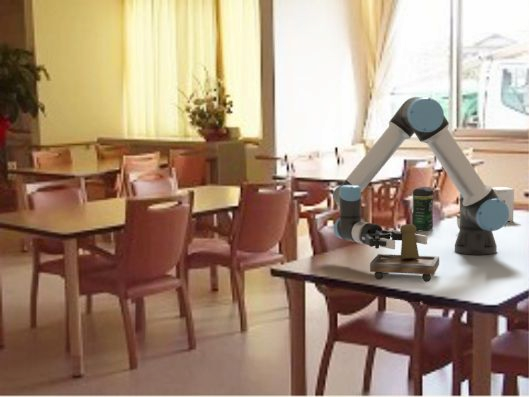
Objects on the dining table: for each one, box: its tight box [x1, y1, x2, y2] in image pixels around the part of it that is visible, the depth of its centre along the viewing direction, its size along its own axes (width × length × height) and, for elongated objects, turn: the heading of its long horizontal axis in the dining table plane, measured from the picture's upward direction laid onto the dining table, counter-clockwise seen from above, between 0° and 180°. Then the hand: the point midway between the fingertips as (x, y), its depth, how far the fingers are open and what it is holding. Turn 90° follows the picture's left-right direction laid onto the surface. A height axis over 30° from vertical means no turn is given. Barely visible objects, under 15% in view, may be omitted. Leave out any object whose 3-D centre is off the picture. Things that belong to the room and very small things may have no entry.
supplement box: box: [491, 186, 515, 222], centre depth 374 cm, size 9×9×15 cm
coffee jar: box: [411, 186, 434, 231], centre depth 354 cm, size 10×8×19 cm
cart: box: [369, 253, 440, 283], centre depth 265 cm, size 20×15×6 cm
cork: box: [399, 223, 420, 259], centre depth 268 cm, size 6×6×11 cm
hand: (410, 242), depth 261 cm, fingers open, 13 cm apart
